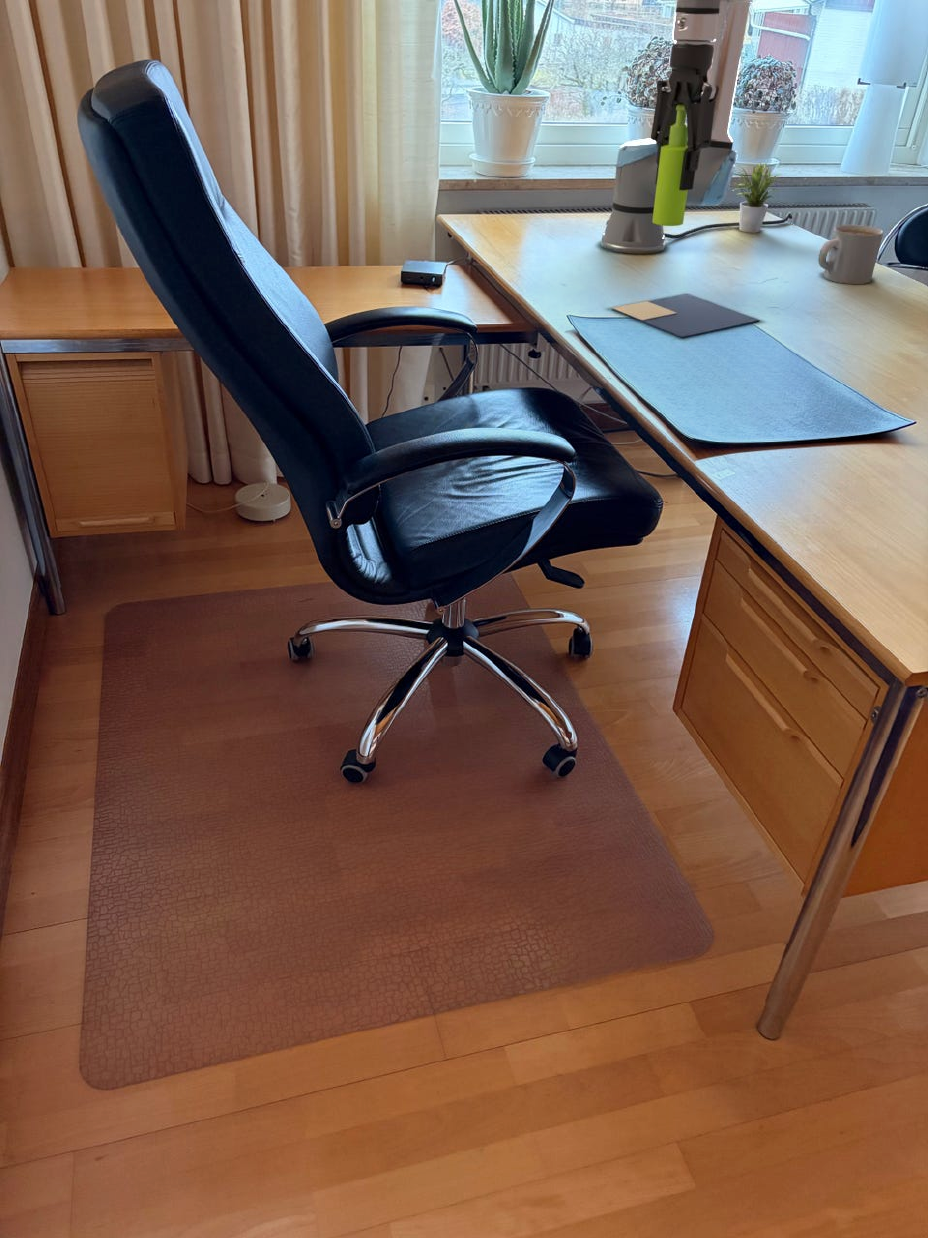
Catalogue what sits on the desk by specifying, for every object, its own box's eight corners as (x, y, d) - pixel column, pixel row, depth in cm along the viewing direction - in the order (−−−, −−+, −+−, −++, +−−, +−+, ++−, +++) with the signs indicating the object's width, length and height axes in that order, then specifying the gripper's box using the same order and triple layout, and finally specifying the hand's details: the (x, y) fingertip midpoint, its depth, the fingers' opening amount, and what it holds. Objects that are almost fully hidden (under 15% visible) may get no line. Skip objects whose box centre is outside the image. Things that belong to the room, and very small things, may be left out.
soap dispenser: (685, 219, 179) (701, 103, 168) (680, 226, 174) (697, 107, 163) (655, 217, 181) (669, 101, 170) (649, 224, 176) (664, 105, 164)
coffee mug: (857, 271, 206) (869, 223, 201) (879, 283, 198) (892, 234, 193) (801, 272, 205) (811, 225, 199) (820, 284, 197) (832, 235, 191)
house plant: (717, 221, 246) (728, 154, 236) (770, 223, 244) (783, 156, 235) (722, 233, 234) (733, 163, 225) (777, 236, 233) (791, 165, 223)
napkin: (686, 295, 189) (687, 293, 189) (759, 321, 176) (759, 319, 176) (611, 309, 181) (611, 307, 181) (681, 338, 167) (682, 336, 167)
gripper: (641, 40, 165) (626, 180, 179) (716, 45, 152) (694, 196, 165) (671, 39, 169) (654, 177, 182) (748, 45, 156) (724, 193, 169)
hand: (673, 186), depth 174 cm, fingers closed on soap dispenser, 6 cm apart
